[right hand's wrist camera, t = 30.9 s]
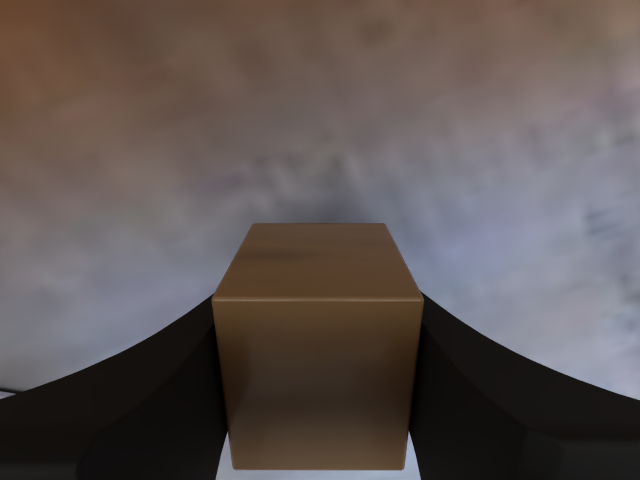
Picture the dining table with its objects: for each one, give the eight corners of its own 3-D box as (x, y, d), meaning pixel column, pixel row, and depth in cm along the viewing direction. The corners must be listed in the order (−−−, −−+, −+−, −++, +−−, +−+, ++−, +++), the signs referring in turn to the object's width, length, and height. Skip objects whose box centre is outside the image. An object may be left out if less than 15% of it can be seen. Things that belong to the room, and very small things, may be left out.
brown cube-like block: (377, 349, 13) (404, 472, 9) (261, 348, 13) (231, 471, 9) (385, 222, 11) (426, 298, 7) (252, 222, 12) (209, 298, 7)
